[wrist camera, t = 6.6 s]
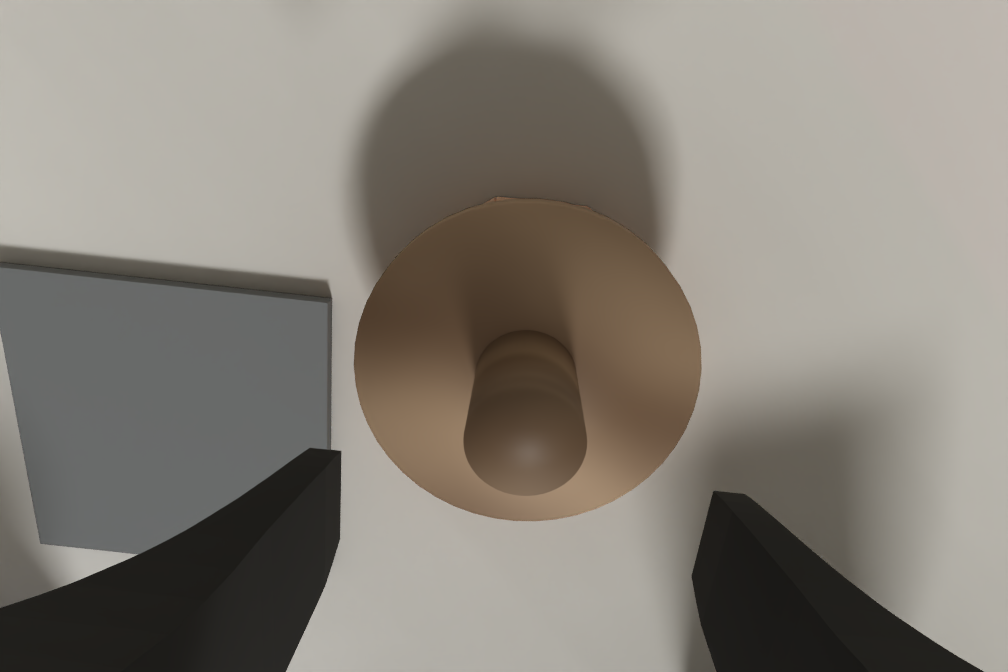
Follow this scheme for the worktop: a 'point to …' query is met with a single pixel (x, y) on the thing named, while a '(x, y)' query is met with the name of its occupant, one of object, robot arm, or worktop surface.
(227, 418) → the mat
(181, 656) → the robot arm
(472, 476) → the lid
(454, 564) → the worktop surface
